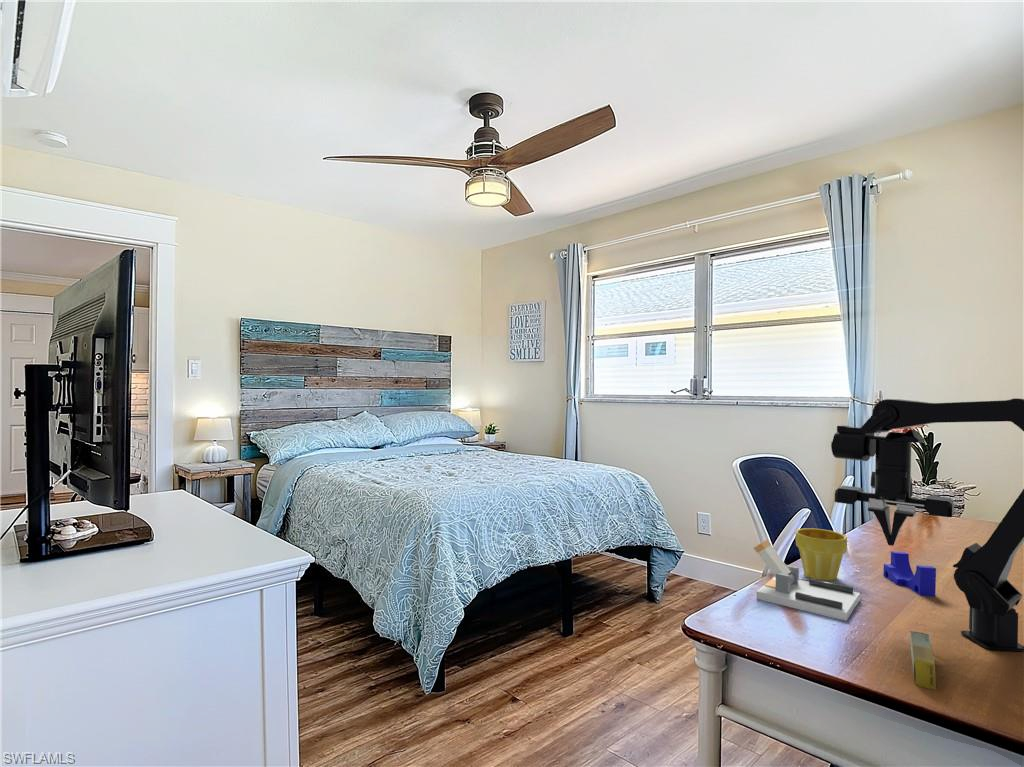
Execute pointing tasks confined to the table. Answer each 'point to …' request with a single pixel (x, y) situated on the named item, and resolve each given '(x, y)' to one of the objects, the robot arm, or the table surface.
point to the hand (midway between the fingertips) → (891, 545)
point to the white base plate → (810, 595)
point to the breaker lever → (773, 560)
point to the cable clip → (911, 574)
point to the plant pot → (821, 552)
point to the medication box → (922, 660)
